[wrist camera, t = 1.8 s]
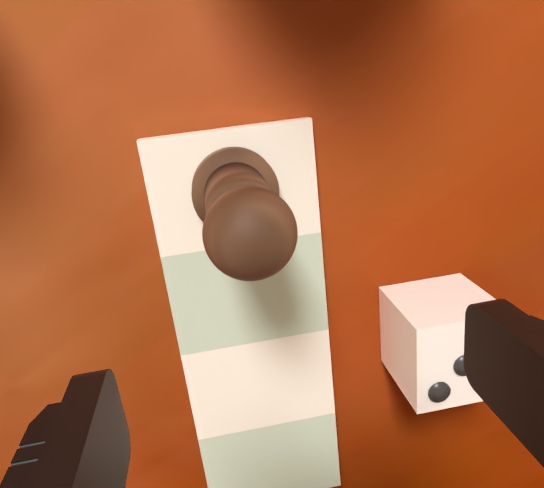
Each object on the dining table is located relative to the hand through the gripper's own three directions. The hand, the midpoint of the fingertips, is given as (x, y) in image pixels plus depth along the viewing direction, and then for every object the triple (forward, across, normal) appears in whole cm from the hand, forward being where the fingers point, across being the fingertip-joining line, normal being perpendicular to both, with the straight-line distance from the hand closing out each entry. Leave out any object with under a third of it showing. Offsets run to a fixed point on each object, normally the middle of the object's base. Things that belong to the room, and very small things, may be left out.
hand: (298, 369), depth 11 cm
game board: (+20, 0, +10) cm, 22 cm away
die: (+20, -12, +12) cm, 26 cm away
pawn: (+19, 0, 0) cm, 19 cm away
